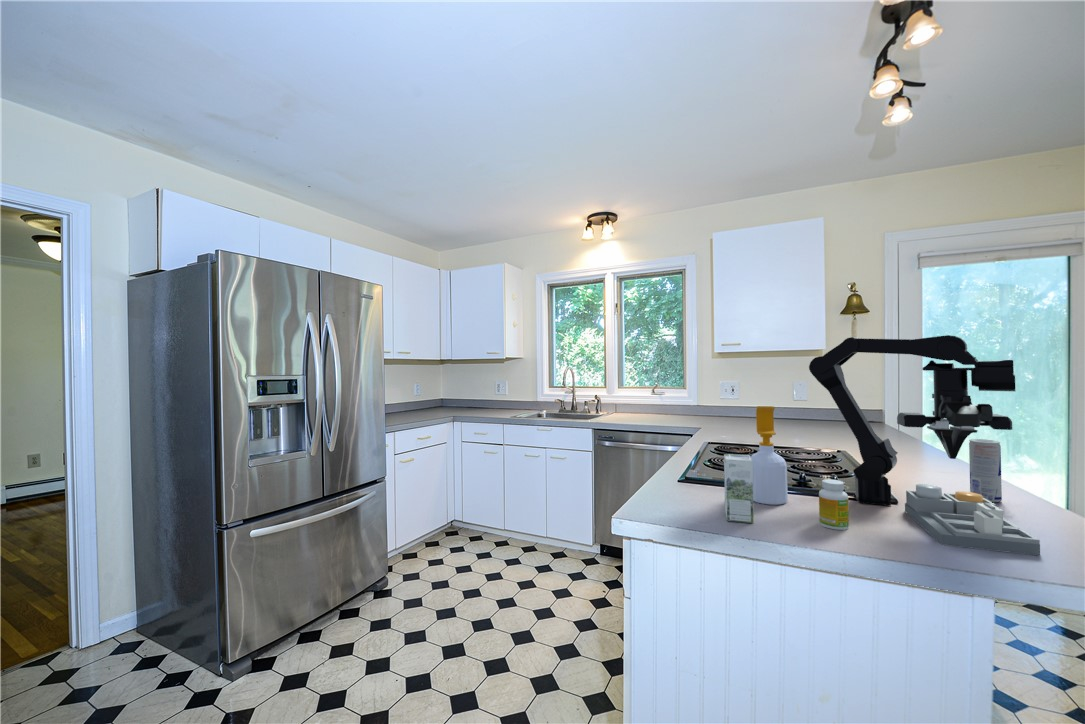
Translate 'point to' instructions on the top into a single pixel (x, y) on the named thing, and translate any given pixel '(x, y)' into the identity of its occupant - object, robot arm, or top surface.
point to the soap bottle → (768, 463)
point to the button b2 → (968, 496)
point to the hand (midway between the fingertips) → (952, 458)
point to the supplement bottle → (833, 505)
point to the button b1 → (928, 491)
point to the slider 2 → (987, 523)
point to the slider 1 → (990, 509)
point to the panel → (966, 525)
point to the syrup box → (738, 488)
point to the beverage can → (985, 469)
